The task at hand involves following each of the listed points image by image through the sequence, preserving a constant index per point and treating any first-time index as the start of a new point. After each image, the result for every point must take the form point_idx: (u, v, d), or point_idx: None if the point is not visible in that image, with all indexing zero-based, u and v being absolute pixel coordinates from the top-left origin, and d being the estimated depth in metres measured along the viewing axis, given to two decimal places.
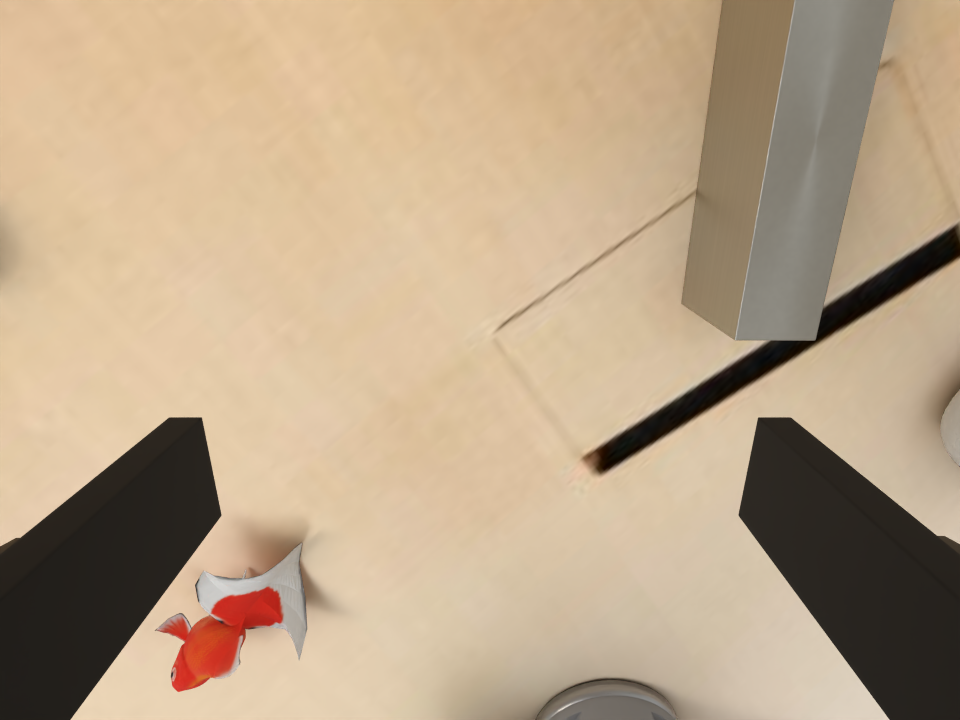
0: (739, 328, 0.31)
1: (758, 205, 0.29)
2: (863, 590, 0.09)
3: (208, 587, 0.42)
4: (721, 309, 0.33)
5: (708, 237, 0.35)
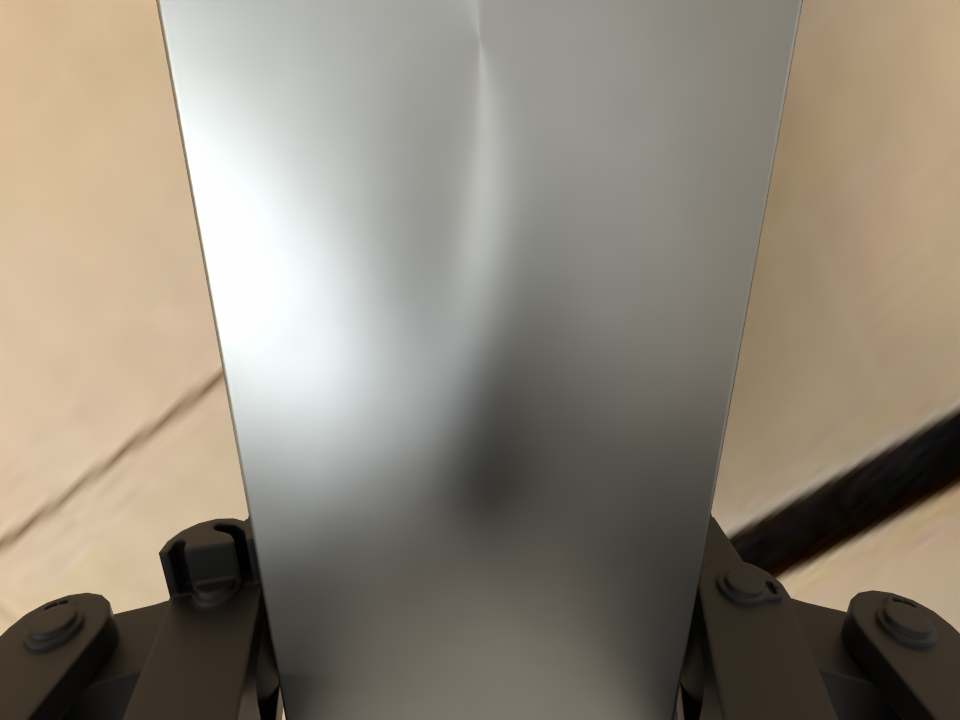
0: None
1: None
2: None
3: None
4: None
5: None
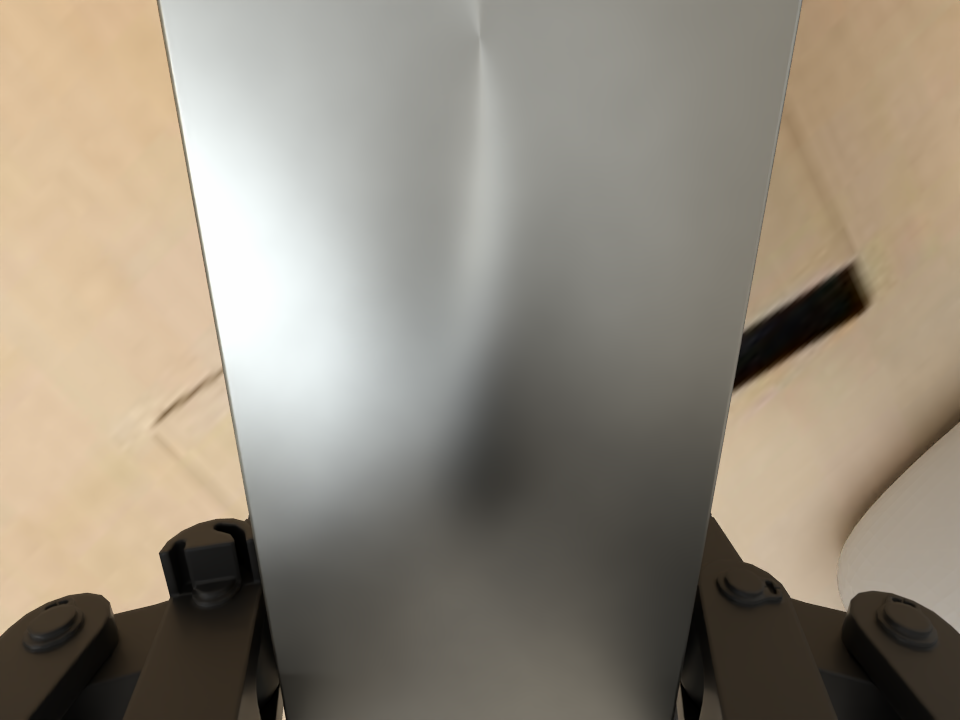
0: None
1: None
2: None
3: None
4: None
5: None
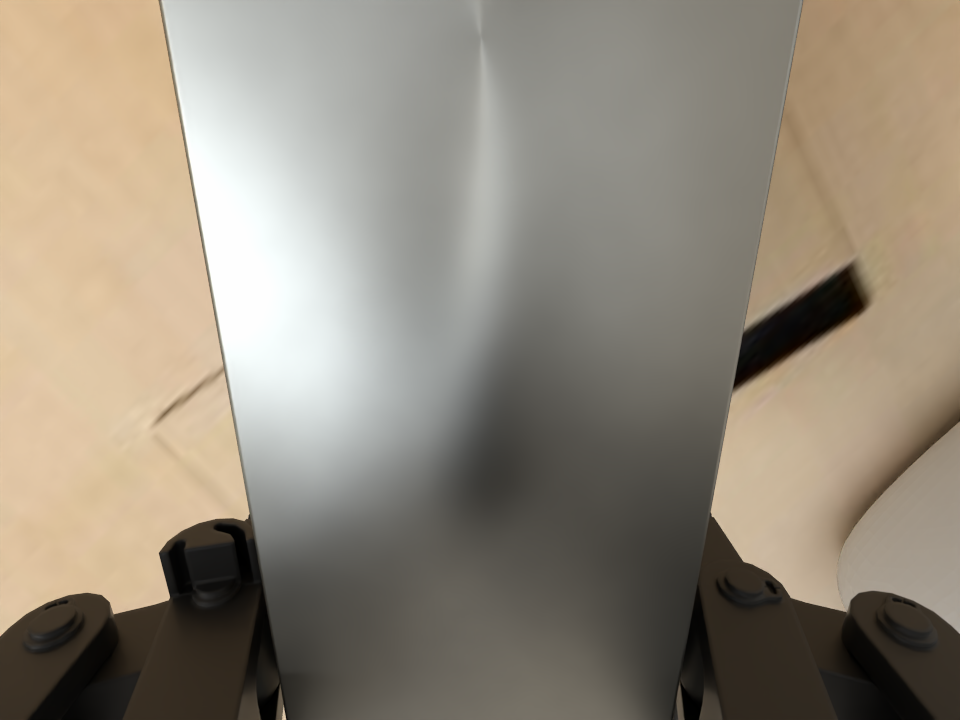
0: None
1: (234, 421, 0.05)
2: None
3: None
4: None
5: None
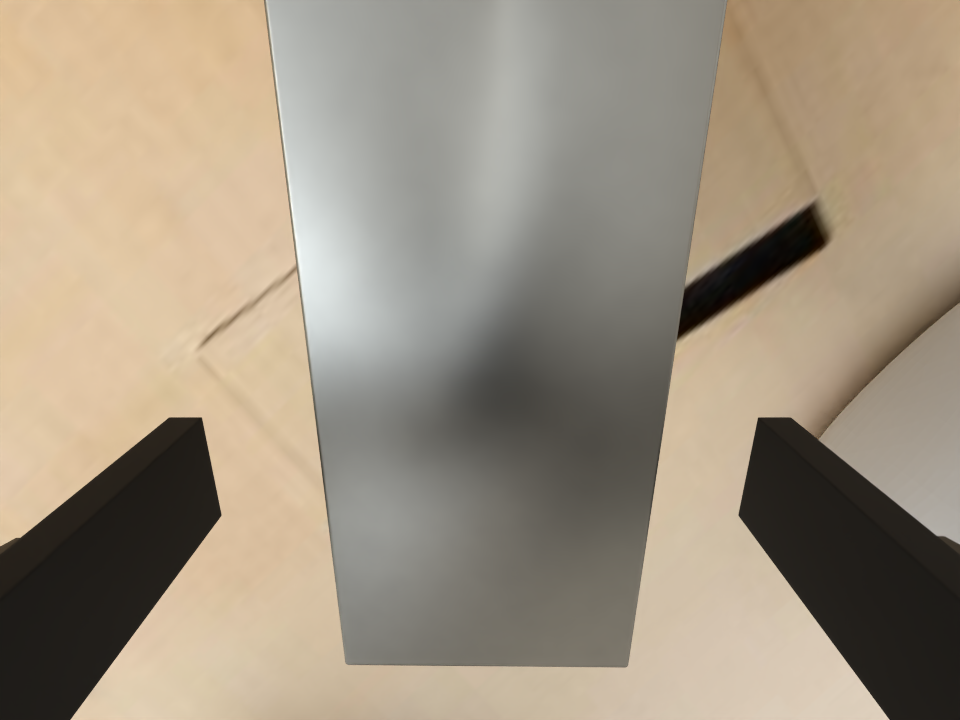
0: (350, 634, 0.09)
1: (287, 189, 0.06)
2: (863, 590, 0.09)
3: None
4: None
5: None
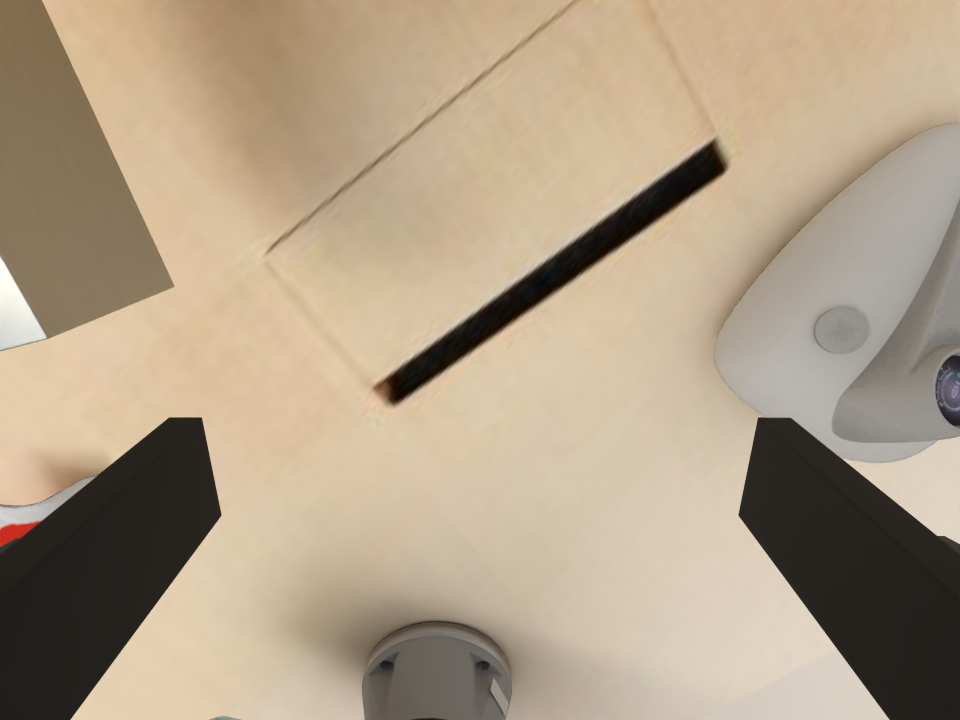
0: None
1: None
2: (863, 590, 0.09)
3: None
4: None
5: None
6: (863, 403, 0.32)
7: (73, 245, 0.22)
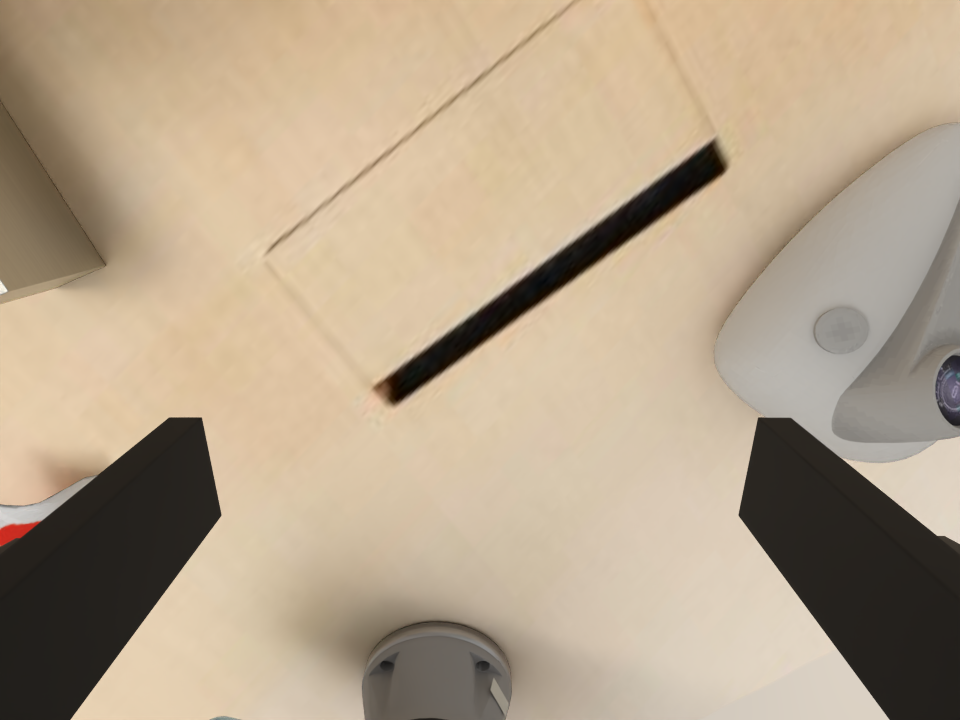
0: None
1: None
2: (863, 590, 0.09)
3: None
4: None
5: None
6: (863, 403, 0.32)
7: (22, 236, 0.35)
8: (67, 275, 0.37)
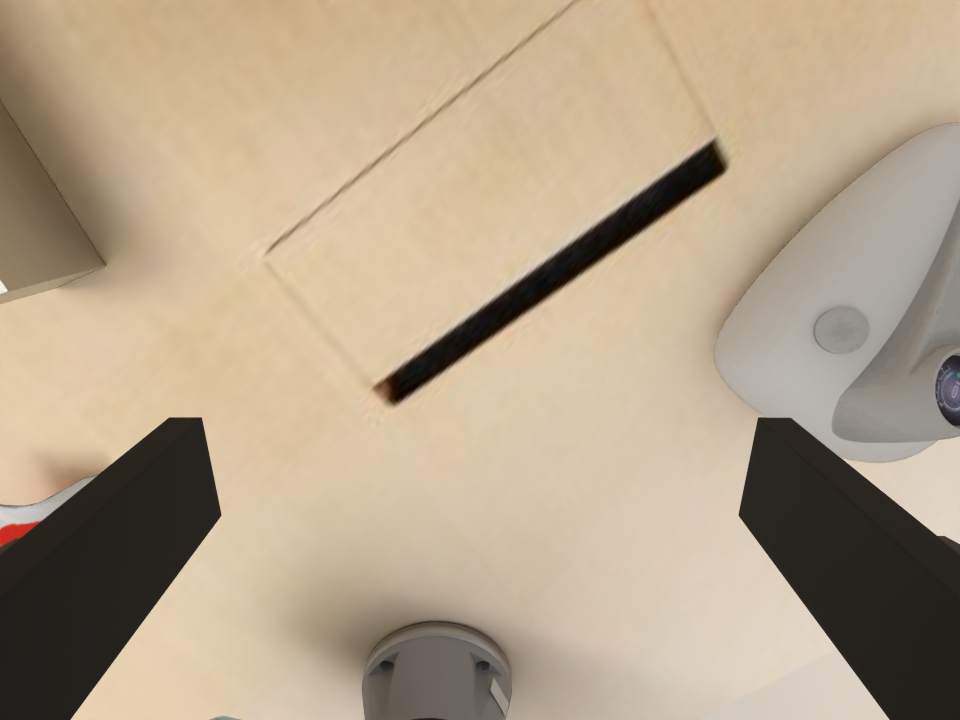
0: None
1: None
2: (863, 590, 0.09)
3: None
4: None
5: None
6: (863, 403, 0.32)
7: (22, 236, 0.35)
8: (67, 275, 0.37)
